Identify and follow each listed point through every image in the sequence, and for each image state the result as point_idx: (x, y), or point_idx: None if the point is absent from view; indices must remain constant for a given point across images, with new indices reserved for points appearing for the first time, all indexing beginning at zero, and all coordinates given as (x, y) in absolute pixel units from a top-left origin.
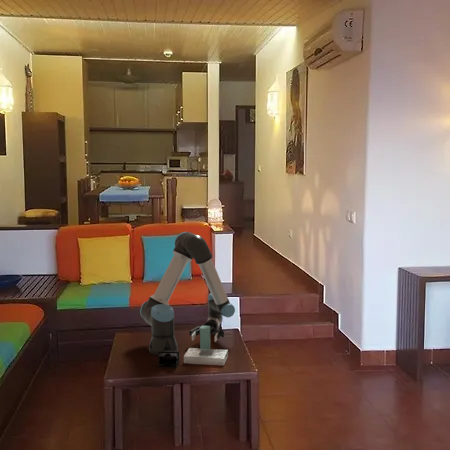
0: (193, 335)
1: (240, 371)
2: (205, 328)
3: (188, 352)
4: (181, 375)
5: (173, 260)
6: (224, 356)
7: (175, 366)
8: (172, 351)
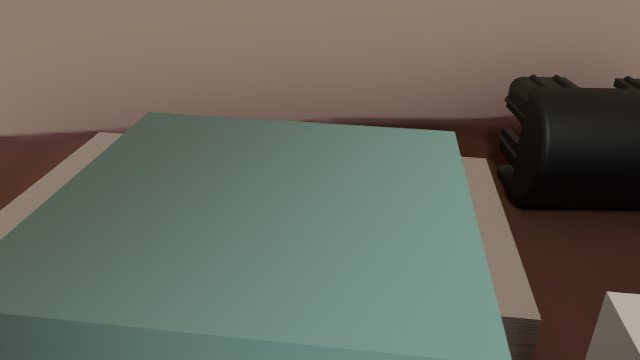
0: (624, 346)
1: (21, 139)
2: (250, 122)
3: (478, 212)
4: (417, 119)
5: None
6: (75, 153)
7: (509, 166)
8: (591, 88)
